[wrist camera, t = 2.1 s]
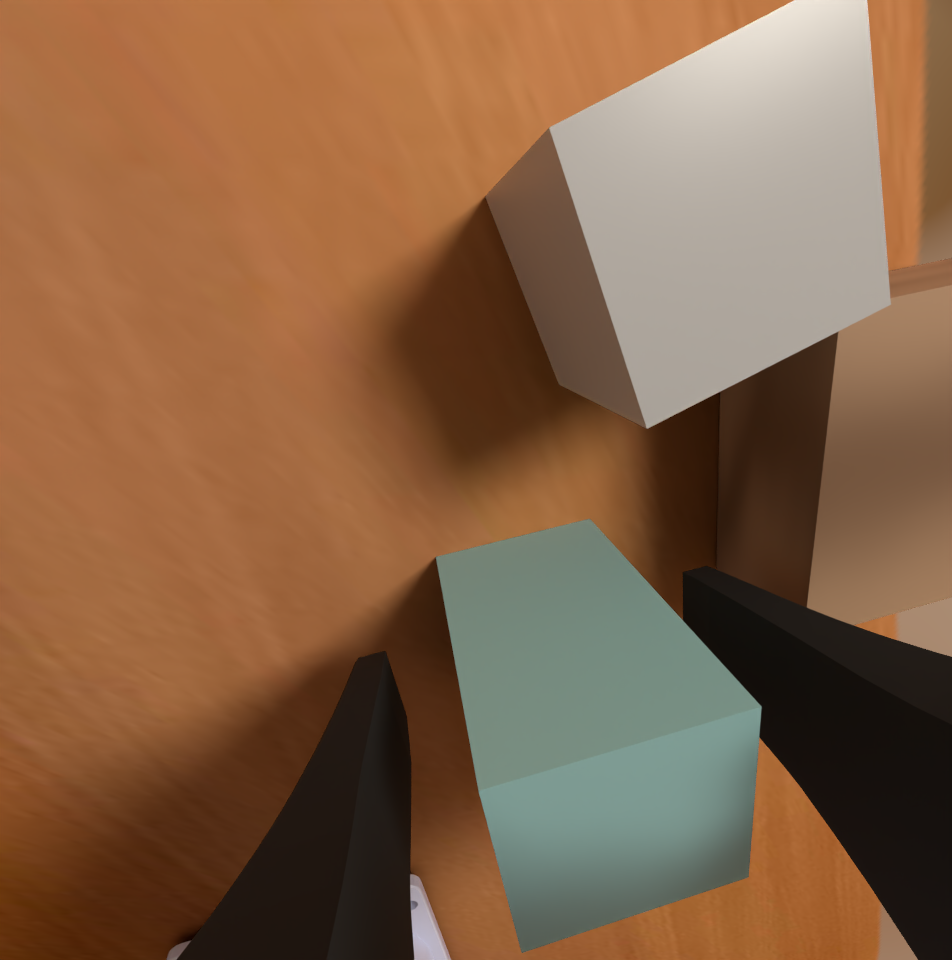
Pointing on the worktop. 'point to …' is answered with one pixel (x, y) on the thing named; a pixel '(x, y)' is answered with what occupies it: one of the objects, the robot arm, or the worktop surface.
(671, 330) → the grey block
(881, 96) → the worktop surface
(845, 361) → the brown wooden square block
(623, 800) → the teal block
